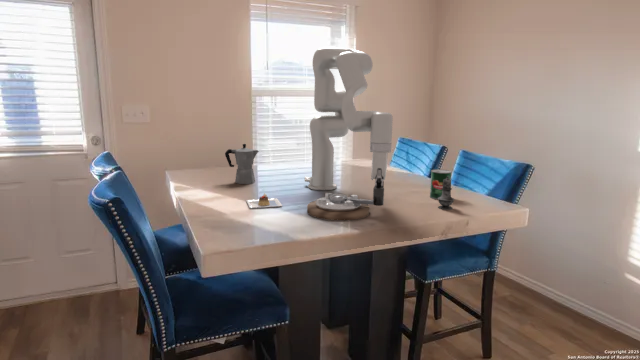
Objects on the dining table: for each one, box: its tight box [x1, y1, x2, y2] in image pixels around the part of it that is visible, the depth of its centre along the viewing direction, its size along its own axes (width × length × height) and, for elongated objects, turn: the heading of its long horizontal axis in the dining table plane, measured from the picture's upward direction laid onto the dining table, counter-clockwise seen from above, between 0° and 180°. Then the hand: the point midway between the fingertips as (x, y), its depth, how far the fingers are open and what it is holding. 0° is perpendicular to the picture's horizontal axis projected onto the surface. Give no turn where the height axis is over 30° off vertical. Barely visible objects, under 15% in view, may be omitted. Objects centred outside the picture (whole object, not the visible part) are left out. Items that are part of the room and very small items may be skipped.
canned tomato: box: [429, 168, 452, 200], centre depth 171 cm, size 8×8×11 cm
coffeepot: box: [224, 143, 260, 185], centre depth 197 cm, size 15×9×18 cm, turn 103°
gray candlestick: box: [437, 176, 455, 211], centre depth 155 cm, size 6×6×12 cm
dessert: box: [245, 192, 283, 210], centre depth 159 cm, size 12×12×5 cm
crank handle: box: [315, 186, 385, 212], centre depth 148 cm, size 24×16×7 cm
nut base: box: [306, 200, 371, 222], centre depth 150 cm, size 22×22×2 cm
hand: (378, 194), depth 154 cm, fingers open, 9 cm apart
